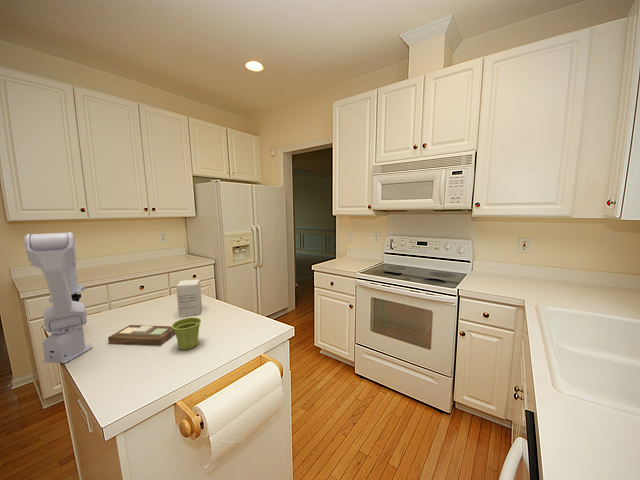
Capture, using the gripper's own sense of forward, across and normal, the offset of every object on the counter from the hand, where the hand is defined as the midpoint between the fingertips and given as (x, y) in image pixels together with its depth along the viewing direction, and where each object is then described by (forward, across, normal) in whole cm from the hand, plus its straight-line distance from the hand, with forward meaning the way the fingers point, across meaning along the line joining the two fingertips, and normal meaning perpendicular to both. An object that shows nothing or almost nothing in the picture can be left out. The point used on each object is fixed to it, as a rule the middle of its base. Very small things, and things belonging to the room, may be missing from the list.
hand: (71, 314), depth 97 cm
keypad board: (+9, -5, -27) cm, 29 cm away
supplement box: (+10, +17, -37) cm, 42 cm away
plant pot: (+10, -14, -45) cm, 48 cm away
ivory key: (+8, -5, -27) cm, 28 cm away
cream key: (+9, -4, -21) cm, 23 cm away
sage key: (+9, -7, -32) cm, 34 cm away
